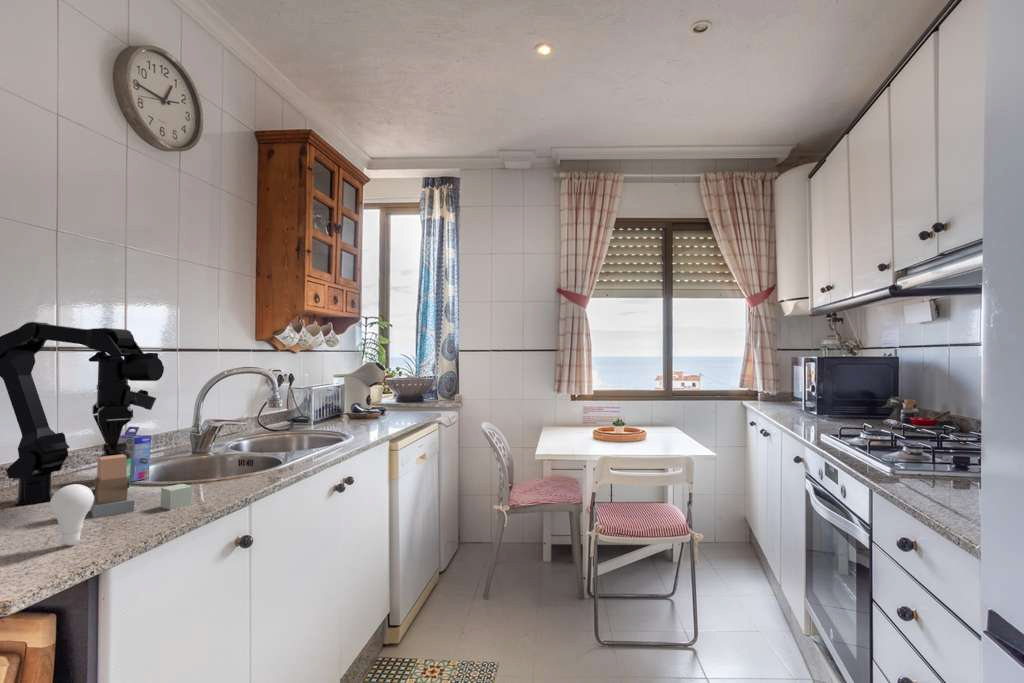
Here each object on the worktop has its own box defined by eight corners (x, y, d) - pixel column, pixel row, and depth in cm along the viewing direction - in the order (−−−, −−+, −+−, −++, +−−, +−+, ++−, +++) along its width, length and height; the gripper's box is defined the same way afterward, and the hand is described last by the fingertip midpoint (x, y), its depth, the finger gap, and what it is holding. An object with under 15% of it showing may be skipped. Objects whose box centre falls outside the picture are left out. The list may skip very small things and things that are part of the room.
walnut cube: (94, 500, 113) (95, 477, 113) (122, 495, 117) (123, 473, 117) (98, 504, 110) (98, 481, 110) (126, 499, 113) (127, 477, 114)
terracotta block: (97, 477, 114) (98, 457, 114) (122, 473, 117) (123, 454, 117) (100, 480, 110) (101, 459, 111) (126, 477, 114) (126, 456, 114)
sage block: (160, 507, 117) (161, 487, 117) (181, 502, 121) (182, 483, 121) (170, 510, 114) (170, 490, 115) (191, 506, 118) (192, 486, 118)
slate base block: (90, 512, 114) (91, 499, 114) (129, 506, 119) (130, 493, 119) (93, 520, 109) (93, 506, 109) (133, 513, 113) (134, 500, 113)
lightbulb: (66, 539, 96) (68, 480, 96) (100, 539, 96) (102, 480, 97) (38, 552, 90) (41, 489, 90) (75, 551, 90) (77, 488, 90)
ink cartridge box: (151, 478, 144) (152, 426, 145) (132, 482, 139) (134, 429, 139) (122, 476, 146) (123, 425, 147) (103, 480, 141) (105, 428, 141)
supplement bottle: (136, 487, 134) (137, 441, 134) (106, 494, 127) (108, 445, 128) (120, 484, 136) (121, 439, 137) (90, 490, 130) (92, 443, 131)
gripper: (160, 381, 121) (158, 447, 120) (147, 378, 134) (146, 438, 134) (100, 382, 113) (97, 453, 113) (93, 379, 127) (91, 442, 126)
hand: (110, 446), depth 121 cm, fingers open, 9 cm apart
